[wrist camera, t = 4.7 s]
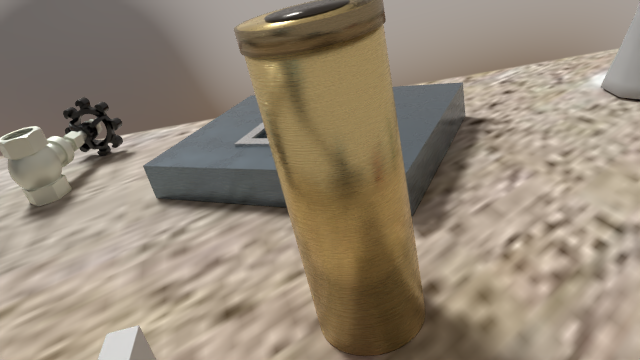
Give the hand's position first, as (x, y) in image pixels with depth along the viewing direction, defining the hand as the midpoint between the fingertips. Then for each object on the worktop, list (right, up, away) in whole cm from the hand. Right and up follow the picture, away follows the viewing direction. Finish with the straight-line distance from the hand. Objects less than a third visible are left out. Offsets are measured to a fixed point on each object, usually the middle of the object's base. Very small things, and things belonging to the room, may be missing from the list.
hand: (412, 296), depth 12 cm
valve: (-27, +3, +37) cm, 46 cm away
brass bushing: (0, -3, +11) cm, 11 cm away
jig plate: (-3, +5, +29) cm, 29 cm away
